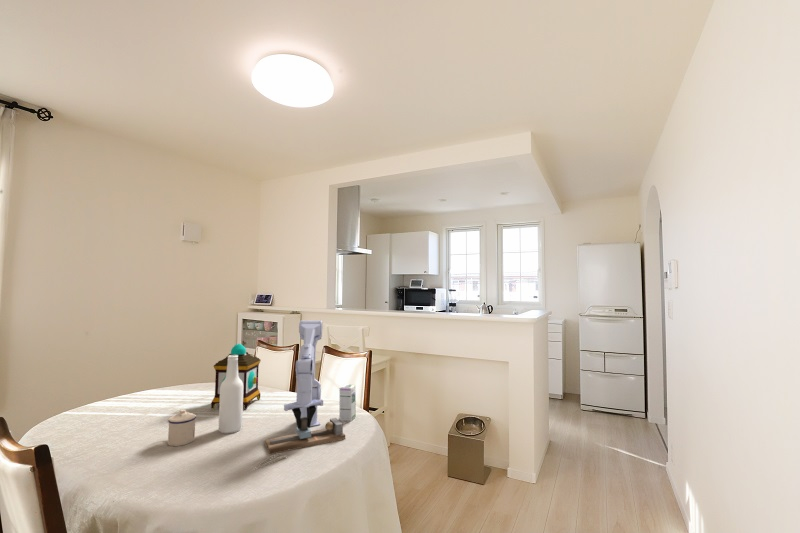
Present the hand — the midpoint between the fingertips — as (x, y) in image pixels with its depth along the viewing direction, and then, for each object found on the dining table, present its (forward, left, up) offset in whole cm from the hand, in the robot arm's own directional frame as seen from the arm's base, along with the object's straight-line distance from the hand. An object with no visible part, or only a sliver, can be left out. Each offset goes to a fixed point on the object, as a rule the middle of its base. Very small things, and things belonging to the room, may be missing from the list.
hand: (303, 427), depth 143 cm
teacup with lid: (-23, -41, -6) cm, 47 cm away
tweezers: (+12, -16, -6) cm, 22 cm away
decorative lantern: (-62, -17, -6) cm, 65 cm away
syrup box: (-16, +24, -6) cm, 29 cm away
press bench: (0, +1, -5) cm, 5 cm away
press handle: (0, 0, -3) cm, 3 cm away
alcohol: (-26, -23, -6) cm, 35 cm away
